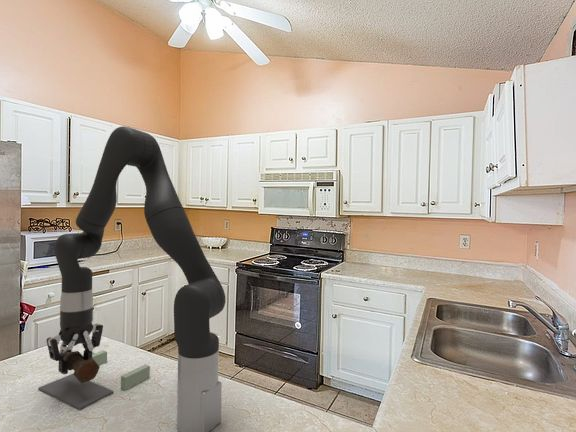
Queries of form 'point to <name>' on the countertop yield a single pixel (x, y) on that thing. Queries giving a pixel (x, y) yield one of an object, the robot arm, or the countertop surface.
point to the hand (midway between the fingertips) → (75, 368)
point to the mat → (76, 391)
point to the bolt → (82, 367)
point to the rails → (128, 378)
